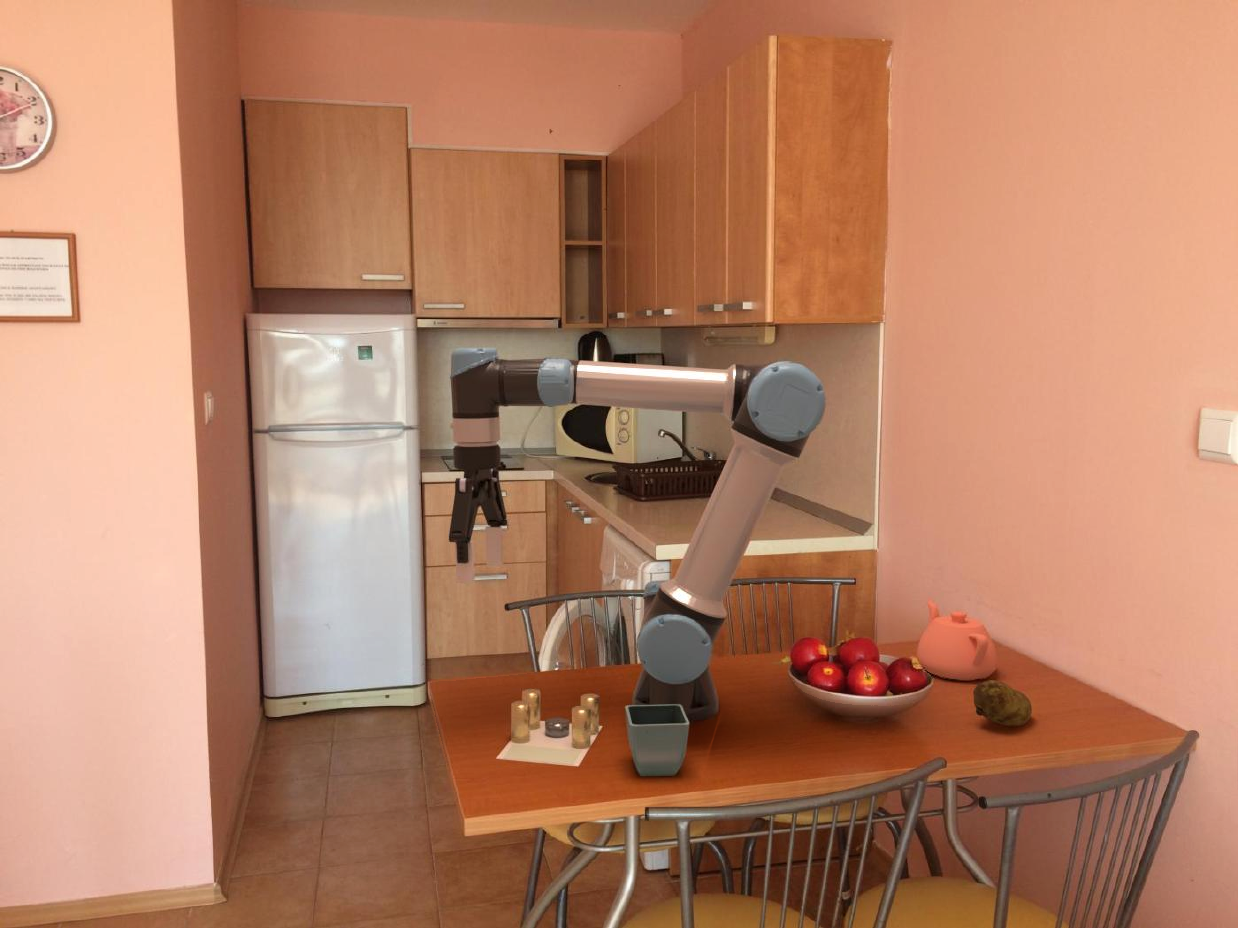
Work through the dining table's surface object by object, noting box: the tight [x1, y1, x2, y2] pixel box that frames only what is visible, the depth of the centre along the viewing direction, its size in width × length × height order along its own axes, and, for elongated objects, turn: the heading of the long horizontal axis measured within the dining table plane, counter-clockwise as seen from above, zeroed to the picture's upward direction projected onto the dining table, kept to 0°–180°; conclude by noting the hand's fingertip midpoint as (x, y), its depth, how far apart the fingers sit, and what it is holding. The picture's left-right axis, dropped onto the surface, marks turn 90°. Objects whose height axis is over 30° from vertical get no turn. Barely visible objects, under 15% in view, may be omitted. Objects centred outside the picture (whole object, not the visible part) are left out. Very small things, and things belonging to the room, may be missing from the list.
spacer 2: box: [521, 688, 541, 730], centre depth 171 cm, size 3×3×6 cm
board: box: [495, 720, 603, 767], centre depth 165 cm, size 13×17×1 cm
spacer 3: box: [580, 693, 600, 735], centre depth 169 cm, size 3×3×6 cm
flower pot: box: [624, 704, 690, 777], centre depth 155 cm, size 9×9×9 cm
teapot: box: [916, 599, 998, 681], centre depth 205 cm, size 22×15×12 cm
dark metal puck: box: [544, 717, 570, 738], centre depth 168 cm, size 4×4×2 cm
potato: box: [972, 680, 1033, 727], centre depth 176 cm, size 8×13×8 cm, turn 110°
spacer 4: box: [571, 705, 592, 749], centre depth 163 cm, size 3×3×6 cm
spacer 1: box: [510, 700, 530, 744], centre depth 165 cm, size 3×3×6 cm
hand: (480, 573), depth 168 cm, fingers open, 13 cm apart
